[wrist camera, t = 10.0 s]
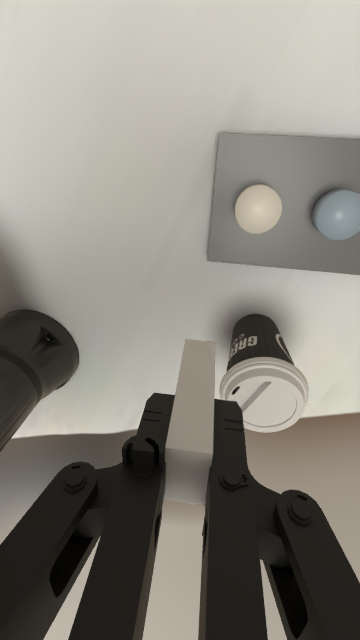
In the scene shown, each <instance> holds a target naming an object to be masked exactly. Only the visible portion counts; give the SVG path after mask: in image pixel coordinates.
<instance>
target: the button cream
mask: <svg viewBox="0 0 360 640" xmlns="http://www.w3.org/2000/svg"><path fill="white" fill-rule="evenodd" d="M281 212H282V202H281V199H280V197H279V195H278V194H277V193H276V192H275V191H274V190H273V189H272V188H270V187H269V186H267V185H264V184H254V185H251V186H249V187H247V188H245V189H244V190H243V191H242V192H241V193H240V194H239V196H238V198H237V200H236V203H235V216H236V220H237V222H238V224H239V226H240V227H241V228H242V229H244V230H245V231H247V232H249V233H254V234H259V233H264V232H266V231H268V230H270V229H271V228H272V227H274V226H275V224H276V223H277V222H278V220H279V218H280V216H281Z"/></svg>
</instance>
